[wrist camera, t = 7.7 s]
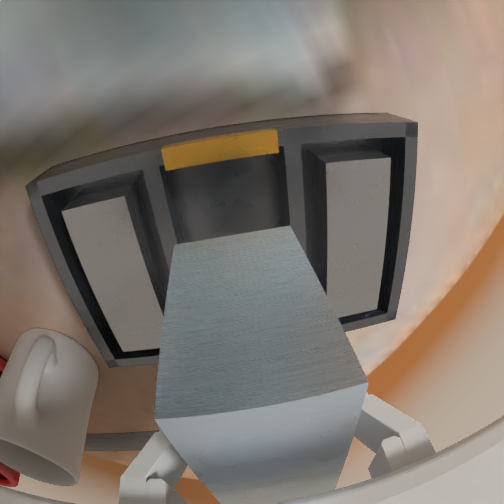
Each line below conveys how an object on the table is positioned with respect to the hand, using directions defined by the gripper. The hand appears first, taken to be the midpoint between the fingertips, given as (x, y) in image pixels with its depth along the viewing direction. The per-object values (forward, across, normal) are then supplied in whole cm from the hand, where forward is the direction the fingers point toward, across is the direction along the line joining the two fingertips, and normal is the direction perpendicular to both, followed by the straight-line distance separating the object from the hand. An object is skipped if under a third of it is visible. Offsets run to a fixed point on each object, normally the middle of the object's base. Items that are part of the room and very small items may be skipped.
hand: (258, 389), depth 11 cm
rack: (+11, 0, 0) cm, 11 cm away
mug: (+12, +17, +8) cm, 22 cm away
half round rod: (+12, +18, +25) cm, 33 cm away
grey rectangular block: (+2, 0, 0) cm, 2 cm away
